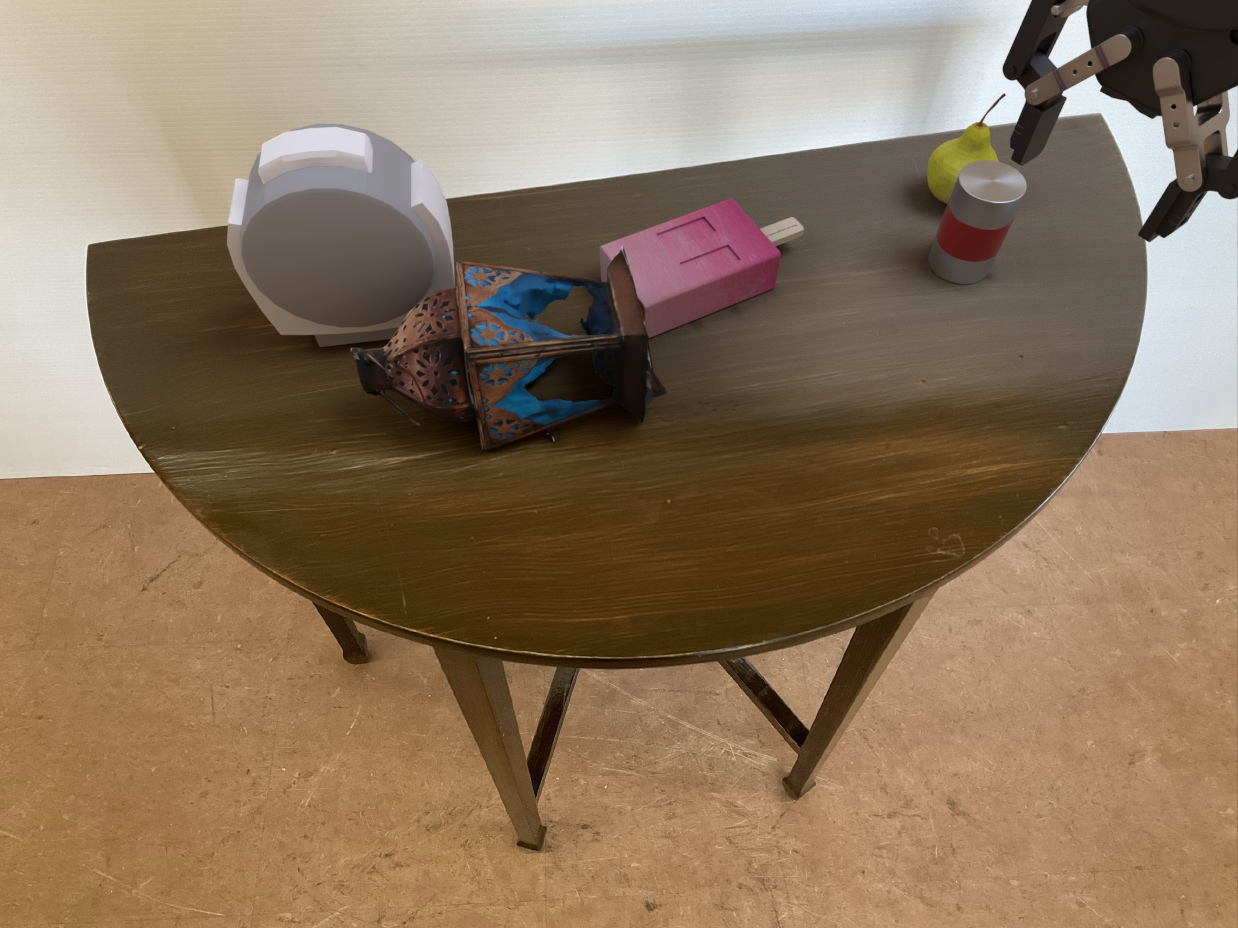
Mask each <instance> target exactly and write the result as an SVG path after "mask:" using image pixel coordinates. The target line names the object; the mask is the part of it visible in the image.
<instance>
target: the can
mask: <svg viewBox="0 0 1238 928" xmlns="http://www.w3.org/2000/svg"><path fill="white" fill-rule="evenodd" d="M1027 185H1028V184H1027V180H1026V178H1025V177H1024V175H1023V174H1022V173H1021V172H1020V171H1019V170H1018V169H1016V168H1015V167H1013V166H1011V165H1010V164H1006V163H1004V162H1001V161H998V162H997V161H990V160H981V161H975V162H972V163H969V164H967V165H966V166H964V167H963V168H962V169H961V171H960V173H959V175H958V178H957V181H956V183H955V186H954V189H953V191H952V194H951V197H950V198H949V201H948V203H947V204H946V207H945V209H944V211H943V215H942V217H941V220H940V223H939V225H938V228H937V230H936V234H935V237H934V240H933V243H932V245H931V248H930V252H929V253H928V257H927V258H928V259H927V261H928V265H929V268H930V269H931V270H932V271H933V273H934V274H936V275H937V276H938V277H939V278H940V279H942V280H944V281H946V282H949V283H952V284H956V285H957V284H958V285H971V284H972V285H973V284H976V283H979V282H981V281H982V280H984V279H985V278H986V277H987V276H988V274H989V273H990V270H991V268H992V266H993V264H994V262H995V259H996V258H997V255H998V253H999V251H1000V250H1001V247H1002V245H1003V244H1004V241H1005V239H1006V237H1007V235H1008V232H1009V230H1010V228H1011V226H1012V223H1013V222H1014V220H1015V218H1016V217H1015V216H1016V214H1017V212H1018V209H1019V207H1020V205H1021V203H1022V201H1023V199H1024V197H1025V194H1026V192H1027V188H1028V186H1027Z"/></svg>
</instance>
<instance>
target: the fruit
mask: <svg viewBox="0 0 1238 928" xmlns="http://www.w3.org/2000/svg"><path fill="white" fill-rule="evenodd" d="M1006 96H1007V95H1006V93H1005V92H1004V93H1002V94H1001V95H1000V96H999V97H998V98H997V100H995V101H994V102H993V104H992V105H991V106H990V107H989V108H988V110H987V111H986V112H985V114H984V115H983V116H982V118H981V119H980V121H975V122H973V123H972V124H970V125H968V127H967V128H965V130H964V131H963V133H962V134H961V135H960V136H959V137H957V138H953V139H950V140H947V141H945V142H943V143H941V144H939V146H938V147H937V148H935V149H934V150H933V152H932V153H931V155H930V157H929V158H928V160H927V167H926V169H927V170H926V179H927V186H928V188H929V189H928V190H930V192H931V194H932V196H934V198H936V199H937V200H938V201H940V202H941V203H944V204H946V205H947V203H948V201H949V198H950V197H951V194H952V191H953V189H954V186H955V183H956V181H957V178H958V175H959V173H960V171H961V169H962V168H963V167H964V166H966V165H967V164H969V163H972V162H975V161H981V160H990V161H997V162H999V159H998V155H997V153H996V151H995V149H994V148H993V147H992V144H991V131H990V127H989V126H988V124H987V123H985V122H984V121H985V118H986V116H987V115H989V113H990V112H991V111H992V110H993V109H994V108H995V107H996V106H997V105H998V104H999V103H1000V102H1001V100H1002V99H1004V97H1006Z"/></svg>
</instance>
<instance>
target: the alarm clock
mask: <svg viewBox="0 0 1238 928" xmlns="http://www.w3.org/2000/svg"><path fill="white" fill-rule="evenodd" d="M260 149H261V150H260V151H259V153H258V154H257V155H256V158H255V160H254V163H253V164H252V167H251V169H250V172H249V175H248V176H249V177H248V179H243V178H239V177H238V178H235V181H234V187H233V192H232V197H231V203H230V210H229V214H228V215H229V216H228V221H227V234H226V246H227V249H228V252H229V255H230V258H231V262H232V265H233V267H234V269H235V271H236V273H237V275H238V277H239V278H240V280H241V282H242V284H243V285H244V287H245V288H246V290H247V292H248V293H249V294H250V296H251V298H252V300H254V301H255V303H256V305H257V306H258V308H259V310H260V311H261V312H262V314H263V315H264V316H265V317H266V318H267V320H268V321H269V322H270V324H271V325H272V326H273V327H274V328H275V330H276V331H277V332H278V334H280V335H281V336H314V338H315V340H316V342H317V344H318V346H319V348H324V347H331V346H332V347H333V346H341V345H342V346H343V345H348V344H349V345H351V344H357V343H358V344H359V343H367V342H375V341H386V340H391V339H392V337H393V336H394V334H395V333H396V331H397V330H398V328H399V327H400V325H401V322H402V321H403V320H404V319H405V318H406V316H407V315H408V313H409V312H410V311H411V310H412V309H413V308H414V307H415V306H416V305H417V304H418V303H419V302H420V301H422V300H423V299H424V298H425V297H427V296H428V295H430V294H432V293H434V292H436V291H438V290H442V289H448V288H456V280H455V279H456V278H455V277H456V276H455V259H454V258H455V257H454V242H453V233H452V224H451V217H450V211H449V207H448V203H447V202H448V201H447V199H446V197H445V193H444V192H443V189H442V187H441V184H440V181H439V179H438V177H437V176H436V175H435V174H434V173H433V171H432V170H431V169H430V167H428V165H427V164H426V163H425V162H424V160H423V159H422V158H420V159H418V160H415V159H414V158H413V157H412V156H411V155H410V154H409V153H407V152H406V151H405V150H404V149H403V148H401V147H400V146H399V145H398V144H396V143H395V142H394V141H392V140H391V139H388V138H386V137H384V136H382V135H380V134H377V133H375V132H374V131H371V130H368V129H365V128H361V127H356V126H353V125H347V124H344V123H313V124H309V125H305V126H301V127H296V128H292V129H290V130H288V131H284V132H282V133H280V134H279V135H276V136H275V137H273V138H271V139H269V140H267V141H265V142H263V143H262V144H261V148H260Z"/></svg>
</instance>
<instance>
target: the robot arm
mask: <svg viewBox="0 0 1238 928" xmlns="http://www.w3.org/2000/svg"><path fill="white" fill-rule="evenodd" d="M1084 6H1085V7H1086V9H1085V15H1086V23H1087V31H1088V38H1089V43H1090V49H1088V50H1086V51H1085V52H1083V53H1081V54H1080V55H1078V56H1076V57H1074V58H1072V59H1071V60H1069V61H1067V62H1066V63H1064V64H1062V65H1060V66H1059V67H1057V66H1056V65H1055V63H1054V62H1053V61H1052V60H1051V59H1050V56H1051V54H1052V51H1053V49H1054V48H1055V45H1056V43H1057V41H1058V39H1059V37H1060V35H1061V33H1062V31H1063V29H1064V27H1065V25H1066V23H1067V21H1068V19H1069V17H1071V16H1072V15H1074V14H1075V13H1078V12H1079V11H1081V10H1082V9H1083V8H1084ZM1002 74H1003V76H1004V78H1005V79H1006V80H1008V81H1010V82H1011V81H1012V82H1013V81H1014V82H1015V81H1017V83H1018V84H1019V85H1020V86H1021V87H1022V89H1023V90H1024V99H1025V102H1024V104H1023V107H1022V109H1021V112H1020V114H1019V116H1018V119H1017V121H1016V124H1015V126H1014V128H1013V131H1012V133H1011V136H1010V138H1009V148H1010V149H1012V150H1013V152H1012V155H1011V156H1010V160H1011V161H1012V162H1013V163H1016V164H1017V165H1018V166H1021V167H1023V166H1024V165H1026V164H1028V163H1029V162H1031V161H1033V160H1034V159H1035V158H1037V157H1039V155H1041V154H1042V152H1043V151H1044V149H1045V147H1046V146H1047V143H1048V140H1049V138H1050V137H1051V134H1052V133H1053V130H1054V128H1055V126H1056V123H1057V121H1058V119H1059V117H1060V114H1061V112H1062V110H1063V108H1064V106H1065V104H1066V101H1067V99H1068V98H1067V96H1065V95H1063V93H1064V92H1065V91H1067V90H1069V89H1071V88H1073V87H1074V86H1076V85H1078V84H1080V83H1082V82H1084V81H1085V80H1088V79H1089V78H1091V77H1093V76H1095V79H1096V81H1097V83H1098V84H1099V85H1100V89H1099V92H1100V93H1102V94H1104V95H1106V96H1108V97H1110V98H1111V99H1114V100H1120V101H1125V102H1127V103H1129V105H1131V107H1133V108H1134V110H1136V111H1137V112H1138V113H1140V114H1142V115H1143V116H1145V117H1147V118H1149V119H1151V120H1154V119H1156V118H1157V117H1161V119H1162V126H1163V135H1164V142H1165V146H1166V148H1167V149H1169V150H1171V151H1172V155H1173V161H1174V170H1175V177H1176V178H1174V179H1173V180H1172V181H1170V182H1169V183H1168V184H1167V186H1166V188H1165V190H1164V191H1163V193H1162V194H1161V196H1160V198H1159V200H1158V201H1157V202H1156V204H1155V206H1154V207H1153V209H1152V210H1151V212H1150V214H1149V215H1148V216H1147V219H1146V220H1145V222H1144V223H1143V225H1142V226H1141V228H1140V230H1139V231H1138V233H1137V237H1139V238H1141V239H1143V240H1144V241H1146V242H1147V243H1151V242H1152V241H1154V240H1155V239H1157V237H1161V238H1162V239H1165V238H1167V237H1168V236H1170V235H1172V234H1173V233H1175V232H1176V231H1177V230H1179V229H1180V228H1181V227H1183V226H1184V225H1185V224H1187V223H1188V222H1189V220H1190V219H1191V217H1192V215H1193V214H1194V213H1195V211H1196V210H1197V208H1198V207H1199V205H1200V204H1201V202H1202V201H1203V199H1204V198H1205V196H1206V195H1207V193H1208V192H1215V193H1217V194H1218V195H1219V196H1220V197H1221V198H1222V199H1225V200H1235V199H1238V148H1237V149H1236V151H1235V153H1233V156H1231V155H1230V156H1229V148H1228V147H1229V146H1228V137H1227V126H1228V123H1229V122H1230V118H1231V109H1230V101H1229V91H1230V90H1232V89H1235V88H1237V87H1238V0H1031V1H1030V3H1029V5H1028V8H1027V10H1026V12H1025V14H1024V16H1023V19H1022V21H1021V24H1020V25H1019V28H1018V30H1017V33H1016V35H1015V37H1014V39H1013V42H1012V44H1011V46H1010V48H1009V50H1008V53H1007V55H1006V58H1005V59H1004V62H1003V64H1002ZM1194 107H1196V112H1195V111H1194Z"/></svg>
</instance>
